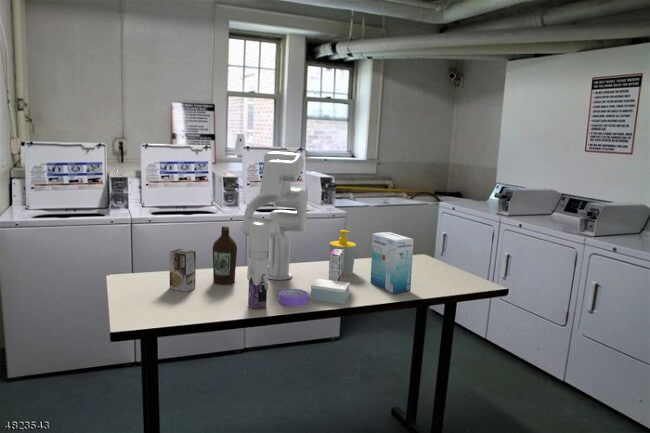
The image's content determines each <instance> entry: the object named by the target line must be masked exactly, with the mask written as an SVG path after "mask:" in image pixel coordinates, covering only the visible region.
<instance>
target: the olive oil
mask: <svg viewBox="0 0 650 433" xmlns="http://www.w3.org/2000/svg"><path fill="white" fill-rule="evenodd" d="M220 231H221V234H220V236H219V237H218V238H217V239H216V240H215V241H214V242H213V245H212V263H213V264H212V269H213V270H212V272H213V274H212V276H213V277H212V278H213V279H212V280H213V283H214V284H216V285H219V286H227V285H232V284H234V283H235V282H236V268H237V255H238V245H237V243H236V241H235V240H234V239H233V237H231V236H230V226H226V225H224V226H221V230H220Z"/></svg>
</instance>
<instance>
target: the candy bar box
mask: <svg viewBox="0 0 650 433" xmlns="http://www.w3.org/2000/svg"><path fill="white" fill-rule="evenodd" d="M343 263H344V250H342V249H334V250H333V251H332V252H331V254H330V253H329V263H328V264H329V265H328V280H331V281H339V282H344V281H343V279H344V276H343Z"/></svg>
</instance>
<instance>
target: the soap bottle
mask: <svg viewBox="0 0 650 433" xmlns="http://www.w3.org/2000/svg"><path fill="white" fill-rule="evenodd" d="M339 232H340V237H339V239H338V240H333V241H330V242H329V255H330V254H331V252H332V251H333V250H334V249H342V250H344V263H343V277H347V276H351V275H353V273H354V266H355V265H354V264H355V257H356V248H357V243H355V242H352V241H348V237H347V233H348V234H351V233H352V232H351V231H349V230H345V229H340V230H339Z"/></svg>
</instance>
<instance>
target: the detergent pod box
mask: <svg viewBox="0 0 650 433" xmlns="http://www.w3.org/2000/svg"><path fill="white" fill-rule="evenodd" d="M350 284H351V283H350V282H346V281H343V282H339V281H331V280H329V279H323V278H316V280H315V281H314V282H313V283H312V284H311V285H310V300H311V301H318V302H319V301H320V302H326V303H333V304H340V305H341V304H342V305H344V304H345V303H346V301H347V300H348V298H349V296H350Z"/></svg>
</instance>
